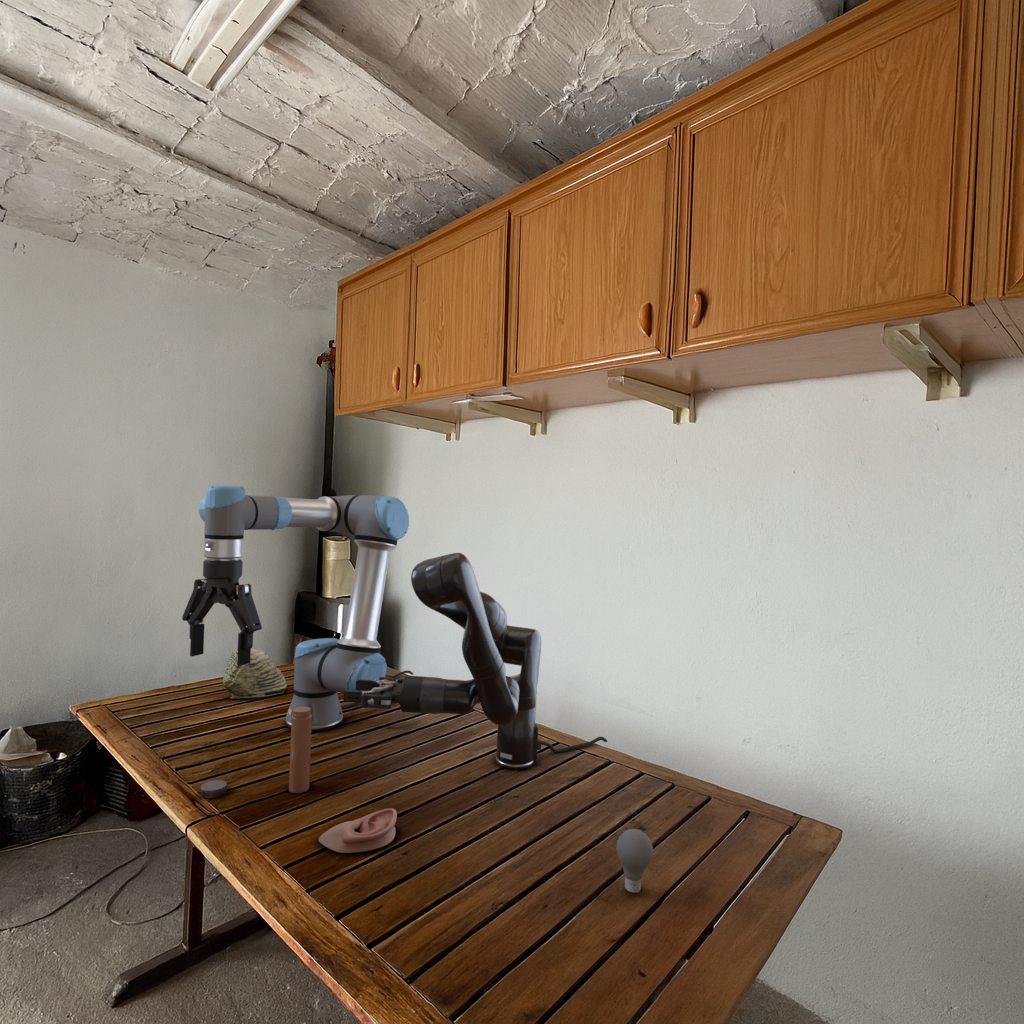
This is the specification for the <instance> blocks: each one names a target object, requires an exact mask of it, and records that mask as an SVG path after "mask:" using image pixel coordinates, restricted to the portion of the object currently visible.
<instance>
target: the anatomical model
mask: <svg viewBox="0 0 1024 1024" xmlns="http://www.w3.org/2000/svg"><path fill="white" fill-rule="evenodd" d="M397 816H398V813H397V810H396V809H395V808H392V807H390V808H384V809H380V810H377V811H374V812H371V813H369V814H366V815H364V816H362V817H360V818H357V819H354V820H348V821H343V822H341V823H339V824H335V825H334V826H332V827H330V828H328V830H326V831H324V832H323V833H322V834H321V835H320V836H319V837H318V842H319V843H320V844H321V845H322V846H324V847H325V848H327V849H329V850H332V851H333V852H336V853H339V854H351V853H361V852H367V851H372V850H376V849H380V848H382V847H385V846H387V845H389V844H390V843H392V842H393V840H394V839H395V837H396V833H397V832H396V827H395V825H396V823H397V818H398V817H397Z"/></svg>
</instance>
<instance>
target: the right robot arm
mask: <svg viewBox="0 0 1024 1024" xmlns="http://www.w3.org/2000/svg"><path fill="white" fill-rule="evenodd" d="M410 581H411V587H412V589H413V591H414V594H415V596H416V597H417V599H418V600H419V601H420V602H421V604H423V605H424V606H426V607H427V608H429V609H431V610H432V611H435V612H436V613H438V614H440V615H442V616H445V617H446V618H448V619H449V620H450V621H452V622H454V623H455V624H456V625H457V626H459V627H461V629H463V630H464V632H463V635H462V641H461V651H462V657H463V660H464V662H465V663H466V666H467V668H468V670H469V672H470V675H471V676H472V679H468V680H464V679H451V678H450V679H449V678H442V677H437V676H421V675H405V676H404V677H403V678H399V677H398V678H397V677H395V678H389V677H386V676H385V677H380V678H379V679H375V680H374V681H373V680H361V679H359V680H357V681H356V690H363V692H362V691H349V690H346V691H345V692H344V693H343V697H342V698H343V700H342V701H343V702H345V703H354V702H355V703H360V704H361V708H363V709H382V710H383V709H386V710H389V709H391V708H392V705H393V704H399V705H400V706H399V708H400V710H401V712H403V713H410V714H411V713H412V714H428V715H429V714H430V715H440V714H446V715H447V714H448V715H469V714H471V713H472V711H473V710H474V708H475V706H476V705H477V704H480V707H481V709H482V711H483V714H484V716H485V717H486V718H487V719H488V721H489V722H491V723H492V724H494V725H497V731H496V735H497V736H496V752H495V753H496V754H495V763H496V764H497V765H498V766H500V767H502V768H504V769H509V770H510V769H511V770H524V769H529V768H531V767H532V766H534V765H535V766H536V765H537V763H538V751H541V750H542V746H546V747H548V748H549V749H550V751H551V752H553V753H558V754H559V753H560V754H561V753H565V752H568V751H572V750H575V749H580V748H584V747H588V746H592V745H594V744H596V743H597V742H599V741H603V742H604V743H607V742H608V740H607V738H606V737H604V736H598V737H596V738H594V739H592V740H590V741H587V742H583V743H578V744H572V745H569V746H566V747H562V748H555V747H554V746H553V745H552V744H551V743H550V742H547V741H543V740H541V739H540V738H539V725H538V724H537V723H536V716H537V715H536V713H537V693H538V683H539V678H540V677H539V676H540V663H541V653H542V636H541V634H540V632H539V630H538V629H536V628H530V627H523V626H514V625H509V624H508V614H507V612H506V610H505V609H504V607H503V606H502V604H501V603H500V602H498V601H497V600H496V599H495V598H494V597H493V596H491V595H490V594H488V593H486V592H483V591H480V587H479V583H478V580H477V576H476V574H475V570H474V568H473V566H472V564H471V562H470V560H469V558H468V557H467V556H466V555H465V554H463V553H461V552H453V553H449V554H445V555H440V556H436V557H432V558H428V559H425V560H423V561H420V562H419V563H417V564H416V565H415V566H414V567H413V569H412V571H411V576H410ZM505 664H506V665H507V664H508V665H512V666H513V665H514V666H520V673H518V674H513V675H509V676H508V675H506V671H507V670H506V665H505ZM368 698H371V700H368Z"/></svg>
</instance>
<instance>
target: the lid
mask: <svg viewBox="0 0 1024 1024" xmlns="http://www.w3.org/2000/svg"><path fill="white" fill-rule="evenodd" d="M227 787H228V783H227V781H225V780H222V779H212V780H209V781H206V782H204V783H202V784H201V785H200V797H201V798H203V799H216V798H220V797H222V796H224V795H225V794H226V793H227Z"/></svg>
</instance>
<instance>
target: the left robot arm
mask: <svg viewBox="0 0 1024 1024" xmlns="http://www.w3.org/2000/svg"><path fill="white" fill-rule="evenodd" d="M198 507H199V508H198V514H199V517H200V519H201V520H202V521H203V522H204V541H203V557H204V558H205V559H204V560H203V561H202V576H203V578H198V579H195V580H194V582H193V590H192V592H191V594H190V597H189V599H188V602H187V604H186V607H185V609H184V612H183V614H182V617H181V620H182V621H184V622H185V621H186V622H187V623H188V625H189V635H188V636H189V640H190V645H189V646H190V648H189V656H190V657H196V656H200V655H204V651H205V650H204V647H205V623H204V622H205V621H204V619H205V618H206V617H207V615H208V614H209V612H210V611H211V609H212V608H213V607H214V605H215V604H217V603H218V604H220V605H224V606H225V607H226V608H228V609H229V611H230V613H231V615H232V617H233V619H234V620H235V622H236V624H237V627H238V628H239V629H240V630H239V631H240V632H239V633H238V634H237V648H238V657H237V665H238V666H241V665H245V664H248V663H250V657H251V649H253V646H254V633H255V632H257V631H260V630H262V628H263V626H262V622H261V619H260V616H259V613H258V610H257V607H256V604H255V601H254V598H253V594H252V584H251V583H244V584H240V578H241V577H242V576H243V566H244V565H243V563H244V561H243V560H242V559H241V558H243V557H244V537H245V535H244V534H245V531H248V530H249V531H251V530H252V531H253V530H254V531H260V530H262V531H263V530H264V531H265V530H271V531H274V530H282V529H284V528H316V529H317V530H319V531H321V532H333V533H339V534H344V535H348V536H349V535H350V536H354V538H353V541H354V543H355V544H356V546H357V555H356V562H355V567H354V574H353V578H352V584H351V585H352V586H351V592H350V597H349V604H348V610H347V617H346V622H345V628H344V634H343V635H342V637H341V638H339V639H338V638H335V637H324V638H323V637H322V638H313V639H308V640H304V641H302V642H299V643H298V644H297V645H296V647H295V652H294V653H295V654H294V657H293V658H294V660H293V662H294V663H293V665H294V666H293V695H292V696H293V697H292V699H291V702H290V704H289V708H288V709H287V713H286V715H285V726H286V728H287V729H289V730H291V717H292V715H293V710H294V708H297V707H309V708H311V714H312V731H311V733H316V732H325V731H329V730H332V729H335V728H337V727H339V726H340V725H342V723H343V722H344V714H343V709H345V708H349V707H353V706H357V705H360V704H361V703H355V702H350V703H346V704H343V705H341V702H340V699H339V695H338V693H340V694H344V692H345V691H346V690H349V691H362V692H363V690H356V681H357V680H359V679H361V680H373V681H374V680H375V679H379V678H380V677H386V675H387V669H388V666H387V665H388V664H387V662H386V658H385V657H384V656H383V655H382V654H381V649H382V648H381V647H382V645H381V644H380V643H379V641H378V640H377V639H378V631H379V625H380V624H379V623H380V619H381V612H382V605H383V599H384V593H385V586H386V579H387V573H388V569H389V568H388V566H389V562H390V556H391V552H392V551H393V550H395V549H396V548H397V545H398V540H401V539H403V538H404V537H405V536H406V534H407V533H408V531H409V527H410V516H409V512H408V509H407V507H406V505H405V503H404V502H403V501H402V500H401V499H400V498H398V497H395V496H389V495H383V494H382V495H374V494H373V495H372V494H371V495H370V494H369V495H368V494H366V495H365V494H348V495H347V494H346V495H335V496H320V497H318V498H317V499H316V498H315V499H313V498H298V497H297V498H296V497H282V496H276V495H254V494H253V495H252V494H251V495H250V494H249V495H248V494H246V489H245V487H244V486H243V485H240V486H239V485H222V484H221V485H220V484H212V485H209V486H208V487H207V489H206V493H205V496H204V497H203V498H202V500H200V503H199V506H198ZM405 674H410V676H414V672H412V671H411V670H403V671H400V672H398V673H396V674H393V675H391V676H389V677H388V678H397V677H399V676H402V675H405ZM368 700H371V698H368Z"/></svg>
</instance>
